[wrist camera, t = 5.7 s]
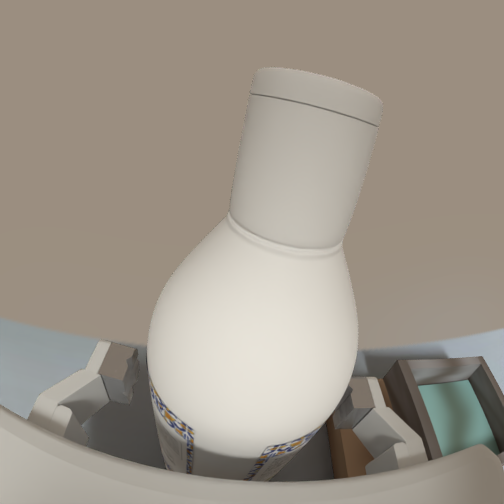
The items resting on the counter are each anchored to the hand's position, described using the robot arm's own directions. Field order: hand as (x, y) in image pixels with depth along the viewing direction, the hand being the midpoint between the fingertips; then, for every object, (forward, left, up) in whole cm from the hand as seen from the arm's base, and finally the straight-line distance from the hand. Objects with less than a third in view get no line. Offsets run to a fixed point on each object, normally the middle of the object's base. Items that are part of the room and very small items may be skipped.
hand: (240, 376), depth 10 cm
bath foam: (0, 0, -10) cm, 10 cm away
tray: (+17, 0, -10) cm, 20 cm away
